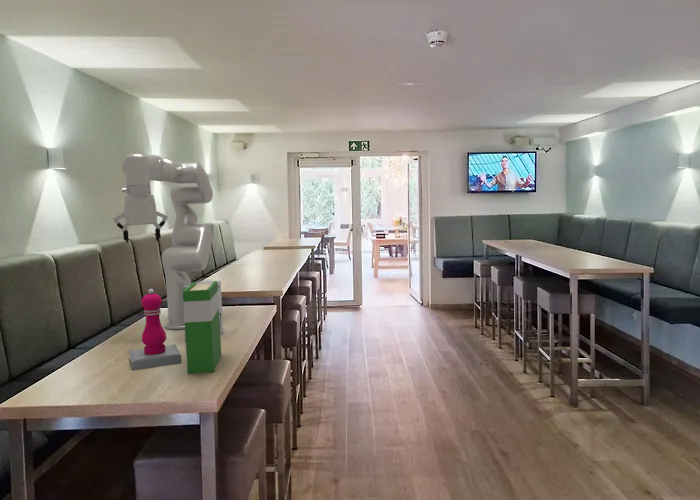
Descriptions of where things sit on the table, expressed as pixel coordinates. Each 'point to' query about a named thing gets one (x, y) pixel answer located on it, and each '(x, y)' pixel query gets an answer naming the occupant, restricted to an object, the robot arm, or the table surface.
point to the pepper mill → (153, 324)
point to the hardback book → (202, 327)
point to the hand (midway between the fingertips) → (142, 241)
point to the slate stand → (155, 358)
